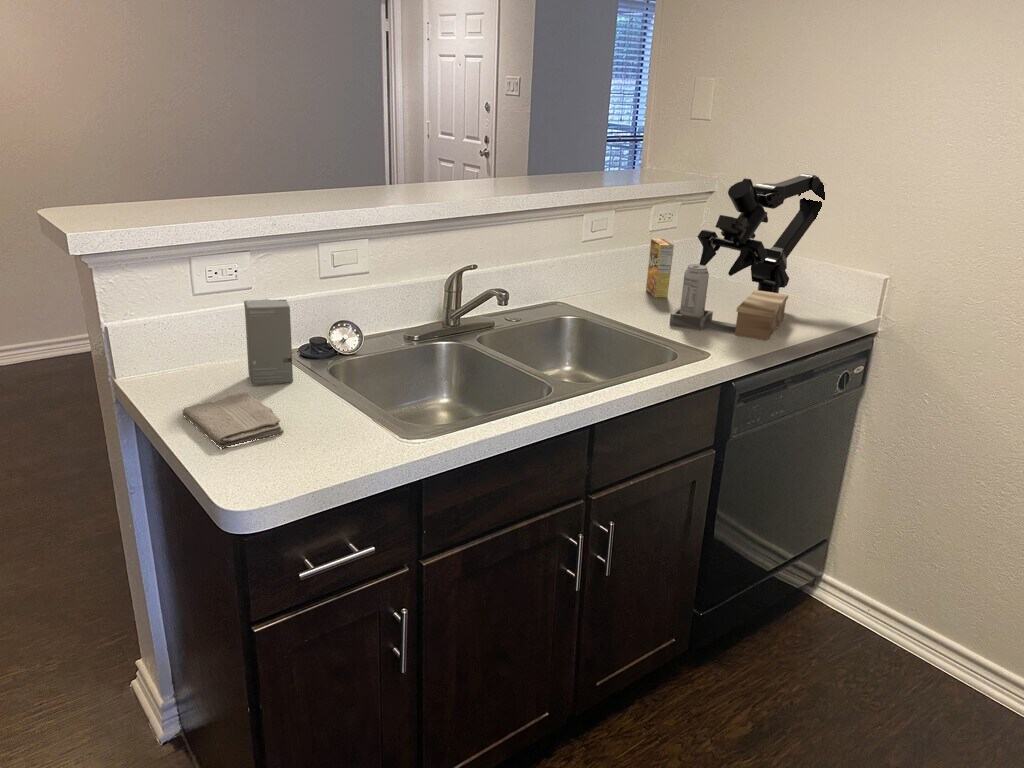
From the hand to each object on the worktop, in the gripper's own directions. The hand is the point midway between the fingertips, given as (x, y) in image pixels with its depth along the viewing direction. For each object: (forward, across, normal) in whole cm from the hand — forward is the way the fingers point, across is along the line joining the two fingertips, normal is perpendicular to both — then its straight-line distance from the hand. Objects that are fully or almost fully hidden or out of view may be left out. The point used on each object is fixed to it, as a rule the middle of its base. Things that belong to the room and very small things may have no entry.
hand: (714, 271), depth 205 cm
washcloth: (+98, -6, -78) cm, 126 cm away
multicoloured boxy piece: (+8, +5, +10) cm, 14 cm away
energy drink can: (+14, 0, +4) cm, 15 cm away
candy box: (+3, -25, +15) cm, 29 cm away
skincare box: (+88, -23, -68) cm, 113 cm away
